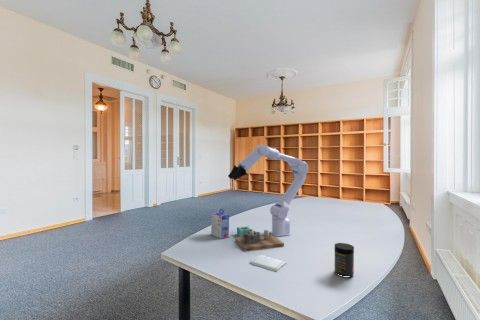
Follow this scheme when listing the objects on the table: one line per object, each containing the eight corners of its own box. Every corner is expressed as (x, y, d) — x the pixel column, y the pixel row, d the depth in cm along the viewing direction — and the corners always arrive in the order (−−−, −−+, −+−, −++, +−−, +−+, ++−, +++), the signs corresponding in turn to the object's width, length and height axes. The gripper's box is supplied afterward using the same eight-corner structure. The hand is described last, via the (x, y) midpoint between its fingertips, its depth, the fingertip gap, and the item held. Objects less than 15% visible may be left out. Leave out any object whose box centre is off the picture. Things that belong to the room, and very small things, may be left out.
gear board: (270, 236, 132) (270, 225, 132) (284, 246, 118) (284, 234, 118) (235, 240, 126) (235, 229, 126) (245, 251, 112) (245, 238, 112)
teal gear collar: (248, 232, 139) (248, 225, 138) (253, 236, 132) (253, 229, 132) (236, 234, 136) (236, 227, 136) (240, 238, 129) (240, 230, 129)
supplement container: (354, 279, 86) (354, 250, 86) (333, 276, 89) (334, 247, 89) (353, 271, 92) (353, 244, 92) (334, 268, 95) (334, 241, 95)
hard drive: (250, 260, 99) (277, 269, 92) (260, 254, 106) (286, 261, 99) (250, 264, 99) (277, 273, 92) (260, 258, 106) (286, 265, 99)
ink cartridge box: (229, 237, 131) (229, 210, 131) (221, 239, 128) (221, 212, 127) (218, 232, 139) (218, 207, 139) (210, 234, 135) (210, 208, 135)
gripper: (240, 155, 137) (223, 171, 133) (249, 155, 123) (230, 173, 120) (248, 164, 138) (231, 181, 135) (258, 165, 124) (239, 183, 121)
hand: (231, 178), depth 127 cm, fingers open, 7 cm apart
